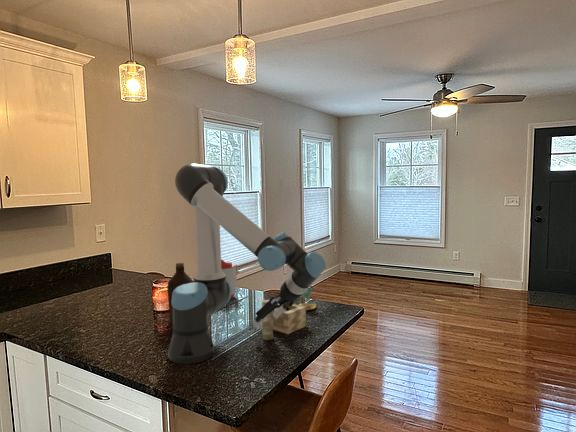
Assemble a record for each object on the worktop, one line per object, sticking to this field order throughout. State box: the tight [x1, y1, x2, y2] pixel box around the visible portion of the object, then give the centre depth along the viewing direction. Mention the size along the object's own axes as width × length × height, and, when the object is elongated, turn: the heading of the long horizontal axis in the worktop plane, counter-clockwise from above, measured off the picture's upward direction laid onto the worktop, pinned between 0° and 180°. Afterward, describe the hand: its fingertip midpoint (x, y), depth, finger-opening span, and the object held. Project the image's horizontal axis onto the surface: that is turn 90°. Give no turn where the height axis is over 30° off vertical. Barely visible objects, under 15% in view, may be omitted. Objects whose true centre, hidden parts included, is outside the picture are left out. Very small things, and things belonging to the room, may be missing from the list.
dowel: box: [261, 299, 274, 341], centre depth 145 cm, size 4×4×14 cm
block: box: [273, 303, 307, 335], centre depth 156 cm, size 11×11×8 cm
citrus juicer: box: [221, 258, 240, 300], centre depth 197 cm, size 16×17×20 cm
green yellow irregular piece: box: [295, 285, 317, 311], centre depth 179 cm, size 10×18×15 cm, turn 138°
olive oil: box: [166, 262, 194, 326], centre depth 162 cm, size 11×11×25 cm
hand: (264, 320), depth 147 cm, fingers open, 10 cm apart
